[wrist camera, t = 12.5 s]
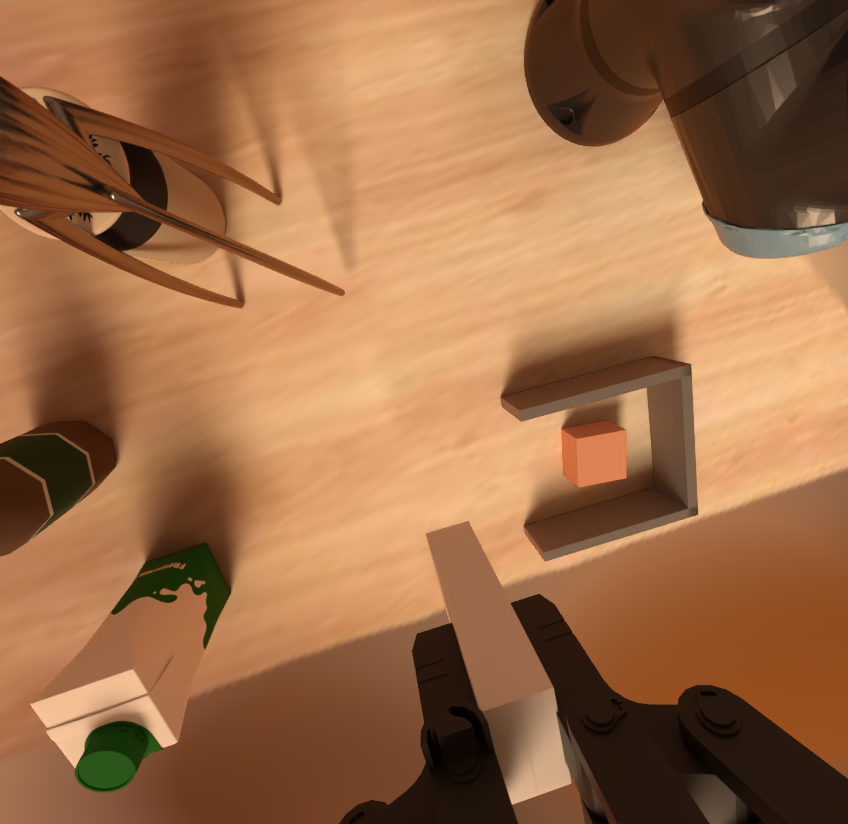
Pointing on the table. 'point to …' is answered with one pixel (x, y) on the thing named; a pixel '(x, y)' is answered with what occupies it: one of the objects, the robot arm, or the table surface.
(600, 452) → the tile block
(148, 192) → the travel mug
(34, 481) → the beer bottle
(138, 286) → the table surface
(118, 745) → the milk carton
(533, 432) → the table surface
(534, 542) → the bin
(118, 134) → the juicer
